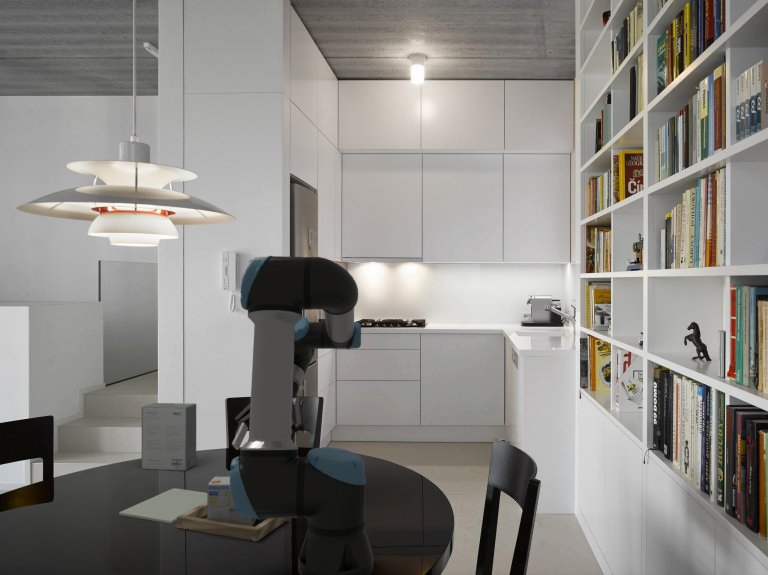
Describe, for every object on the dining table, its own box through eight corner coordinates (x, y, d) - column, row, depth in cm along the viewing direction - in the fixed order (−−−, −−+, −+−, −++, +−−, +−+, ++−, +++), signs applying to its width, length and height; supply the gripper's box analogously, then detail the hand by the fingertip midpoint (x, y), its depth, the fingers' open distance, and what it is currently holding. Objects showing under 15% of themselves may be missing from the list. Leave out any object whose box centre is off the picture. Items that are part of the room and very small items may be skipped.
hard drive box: (197, 464, 189) (197, 403, 189) (185, 471, 181) (186, 407, 182) (153, 462, 191) (153, 402, 192) (140, 469, 184) (140, 406, 184)
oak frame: (256, 541, 129) (257, 530, 129) (176, 527, 137) (176, 517, 137) (286, 520, 142) (286, 510, 142) (211, 509, 149) (211, 499, 149)
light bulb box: (257, 519, 143) (257, 475, 143) (251, 529, 136) (252, 483, 136) (213, 519, 142) (214, 475, 143) (206, 530, 136) (206, 484, 136)
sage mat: (170, 523, 139) (170, 521, 139) (118, 514, 145) (118, 512, 145) (221, 497, 158) (221, 494, 158) (173, 490, 164) (173, 488, 164)
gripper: (330, 393, 162) (305, 461, 148) (254, 388, 171) (223, 452, 156) (322, 377, 157) (295, 446, 143) (244, 372, 166) (210, 437, 152)
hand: (257, 449), depth 150 cm, fingers open, 13 cm apart
